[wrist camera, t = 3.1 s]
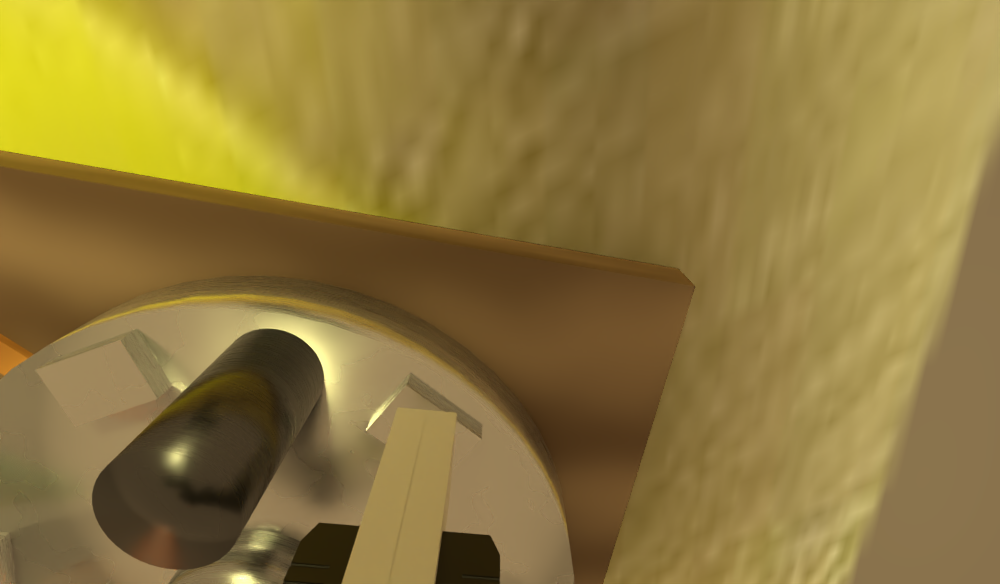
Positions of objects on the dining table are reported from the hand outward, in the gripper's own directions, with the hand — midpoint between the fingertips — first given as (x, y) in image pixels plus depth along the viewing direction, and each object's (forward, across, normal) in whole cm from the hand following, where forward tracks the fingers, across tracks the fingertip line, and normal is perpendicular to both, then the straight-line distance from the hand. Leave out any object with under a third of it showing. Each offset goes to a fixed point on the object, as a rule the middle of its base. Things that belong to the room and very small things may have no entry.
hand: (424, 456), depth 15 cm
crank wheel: (+6, -6, -9) cm, 12 cm away
